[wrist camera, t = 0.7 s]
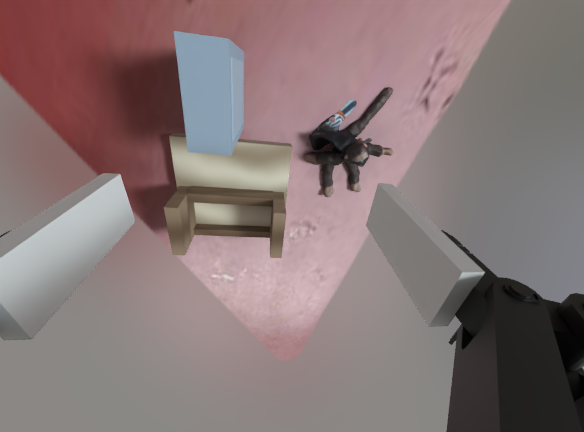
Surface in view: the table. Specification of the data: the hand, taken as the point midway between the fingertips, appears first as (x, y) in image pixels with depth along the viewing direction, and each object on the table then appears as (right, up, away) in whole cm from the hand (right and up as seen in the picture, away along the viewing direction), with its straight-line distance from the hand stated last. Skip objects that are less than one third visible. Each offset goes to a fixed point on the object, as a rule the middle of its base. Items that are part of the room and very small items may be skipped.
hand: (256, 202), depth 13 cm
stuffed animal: (+10, +9, +20) cm, 24 cm away
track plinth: (-6, +3, +22) cm, 23 cm away
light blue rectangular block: (-6, +14, +15) cm, 22 cm away
